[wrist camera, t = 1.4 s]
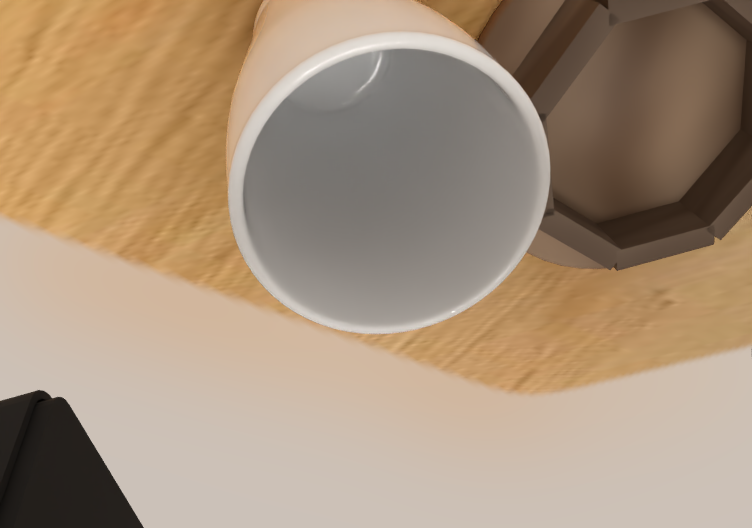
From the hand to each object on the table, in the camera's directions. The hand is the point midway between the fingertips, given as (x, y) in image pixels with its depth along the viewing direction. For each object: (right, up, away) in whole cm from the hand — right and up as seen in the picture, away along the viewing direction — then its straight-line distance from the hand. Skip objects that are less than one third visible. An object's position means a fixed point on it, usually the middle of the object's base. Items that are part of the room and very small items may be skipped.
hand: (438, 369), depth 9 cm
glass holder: (+10, +8, +21) cm, 25 cm away
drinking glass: (-3, +10, +18) cm, 21 cm away
